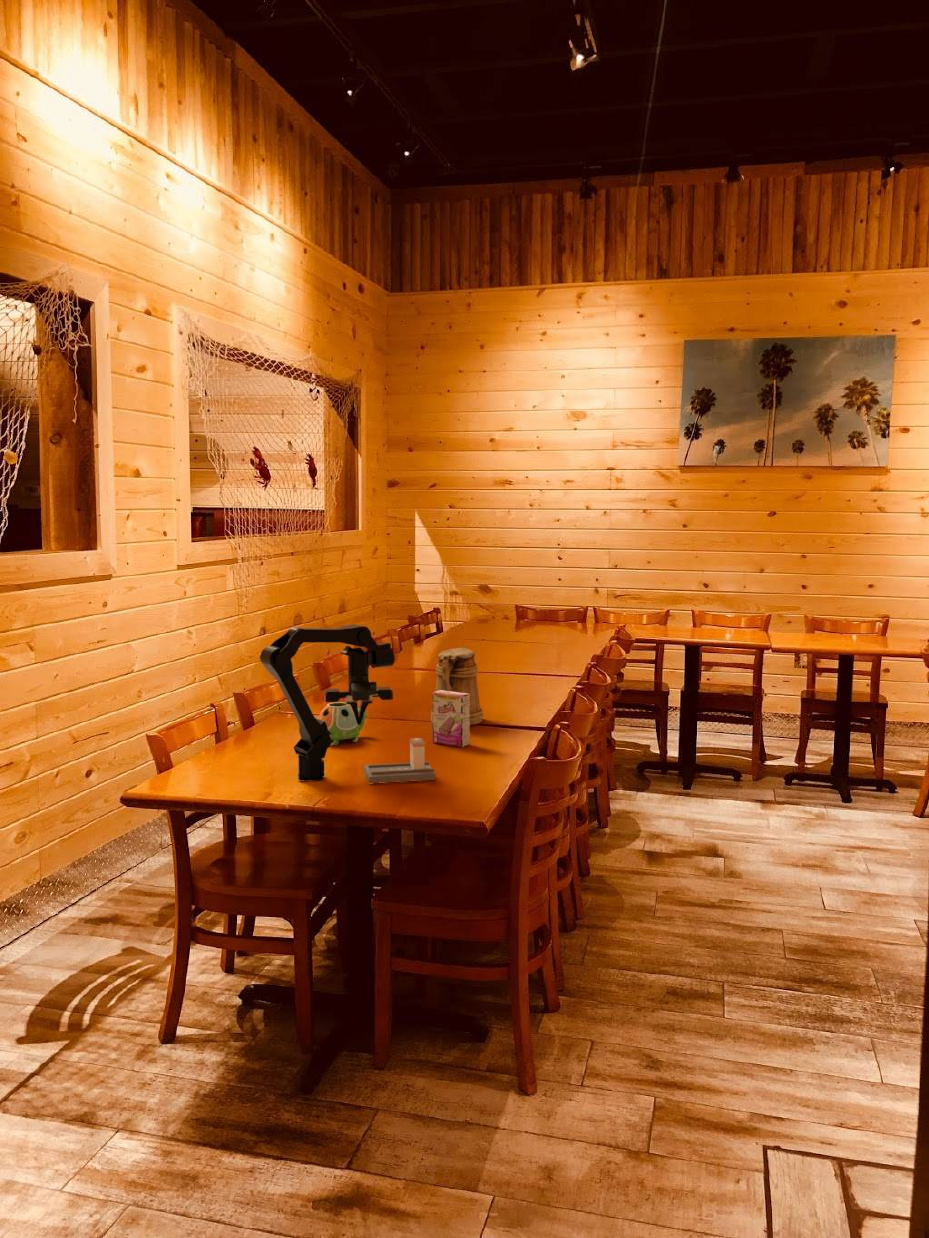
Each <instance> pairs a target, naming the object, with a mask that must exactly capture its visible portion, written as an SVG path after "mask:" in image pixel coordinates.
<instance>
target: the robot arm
mask: <svg viewBox="0 0 929 1238" xmlns="http://www.w3.org/2000/svg"><path fill="white" fill-rule="evenodd" d="M304 643H341V644H345V645H346V646H345V647H344V648H343V649H342V650H341V651H340V655H344V656H347V684H348V685H347V686H348V689H347V691H346V690H345V691H340V689H339V688H326V689H324V700H325V703H336V702H339V701H340V699H344V702H345V703H346V704H349V705H350V706H351V707H352V709H353V712H354V715H355V718H356V721H357V724H358V725H361V722H362V719H363V715H364V712H365V711H366V710H367V707H368V706H369V705H370V704H373V698H378V697H379V698H380V700H381V701H390V700H394V693H393V691H394V690H392V688H391V687H390V686H378V685H377V681H369V679H370V678H369V677H370V675H369V674H370V673H369V672H370V671H369V670H370V668H371V669H376V668H377V669H378V668H387V667H392V666H394V663H395V660H396V656H395V652H394V650H393V648H392V647H391V646H392V645H391V643H390V642H382V643H377V642H376V641H375V639H374V638H373V636H372V632H371V630H370V628H369V627H367V626H364V625H360V624H356V623H355V624H354V623H353V624H346V625H342V626H339V627H335V628H329V627H296V626H292V627H290V629H289V628H288V630H287V631H286V632H285V633H284V634H283V635H281V636H280V637H278V638H277V639H275V640H274V641H273V642H272V643H271V644H270V645H267V646H266V647H264V648H263V649H262V650H261V652H260V656H259V659H260V663H261V664H262V665H263V667H264V668H265V669H266V671H267V672H268V673H269V674H270V675H271V676H272V677H273V678H274V679H275V680H276V681H277V683H278V685H279V687H280V689H281V691H282V693H283V695H284V696H285V699H286V701H287V702H288V705H289V706H290V710H292V712H293V714H294V717H295V718H296V720H297V722H298V730H299V735H300V738H299V740H298V742H297V743H295V745H294V746H293V750H294V752H295V755H297V757H298V760H297V761H298V763H297V764H298V773H297V777H298V781H299V780H316V781H323V780H324V777H325V761H324V758H325V756H326V755H327V752H328V751H327V750H328V749H329V747H330V746H331V745H330V744H331V743H332V740H331V737H330V734H332V733H331V732H329V730H328V728H327V725H326V723H325V722H324V721H322V720H319V719H318V718H317V717H315V715H314V714H313V711H312V710H311V708H310V705H309V704H308V702H307V700H306V697H305V695H304V693H303V692H302V690H301V688H300V686H299V684H298V682H297V680H296V678H295V675H294V666H293V662H292V658H294V656H295V655H296V654H297V652H298V650H300V647H301V646H302V645H303V644H304ZM350 645H352V646H355V647H352V646H350ZM363 648H364V650H363ZM369 667H370V668H369ZM358 701H359V715H358Z"/></svg>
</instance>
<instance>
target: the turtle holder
mask: <svg viewBox="0 0 929 1238" xmlns="http://www.w3.org/2000/svg"><path fill="white" fill-rule="evenodd" d="M357 708H358V707H357ZM359 708H360V707H359ZM359 708H358V715H359ZM367 717H368V712H367V711H366V710H365V712H364V715H363V719H362V722H361V725H358V724H357V721H356V718H355V715H354V712H353V709H352V707H351V705H350V704H346V702H345V701H344V702H343V701H340V702H339V701H338V702H329V703H327V704H326V706H325V707H324V708H323V709H322V710H321V712H320V713H319V716H318V718H317V719H319V720H322V721H324V722H325V723H326V725H327V728H328V730H329V732H331V733H332V734H330V737H331V742H330V745H329V746H331V747H333V746H332V745H336V746H338V745H339V743H340V740H347V739H348V740H349V739H352V743H353V742H356V743H358V742H357V741H359V735H360V732H361V731H362V730H363V727H364V725H365V723H366V722H365V719H367Z"/></svg>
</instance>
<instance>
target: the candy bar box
mask: <svg viewBox="0 0 929 1238" xmlns="http://www.w3.org/2000/svg"><path fill="white" fill-rule="evenodd" d="M432 709H433V722H432V744H439V745H442V746H443V745H445V746H452V747H457V748H465V747H467V746H469V745H470V742H471V741H470V740H471V739H470V738H471V737H470V735H471V734H470V733H471V732H470V731H471V726H470V694H468V693H460V692H452V691H445V690H439V691H436V690H435V691H433V692H432Z"/></svg>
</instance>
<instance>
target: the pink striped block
mask: <svg viewBox="0 0 929 1238" xmlns="http://www.w3.org/2000/svg"><path fill="white" fill-rule="evenodd" d="M425 744H426V743H425V741H424V740H423V738H422V737H412V738H411V737H410V738H409V745H410V746H409V751H410V752H409V753H410V755H409V757H410V758H409V759H410V760H409V761H410V762H409V763H410V765H411V767H412V768H413V770H416V769H425V765H424V762H425Z"/></svg>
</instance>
